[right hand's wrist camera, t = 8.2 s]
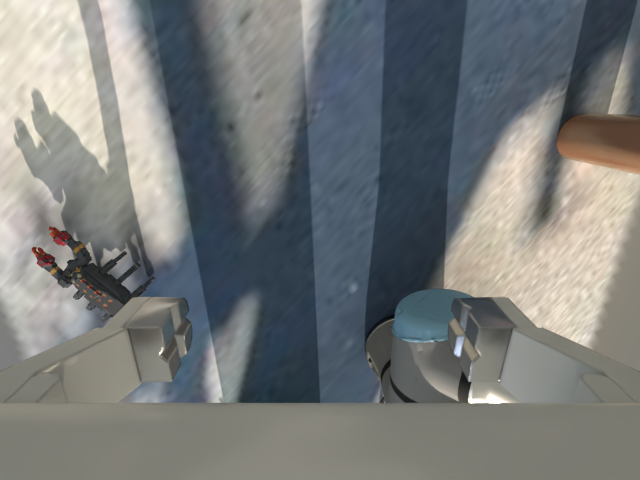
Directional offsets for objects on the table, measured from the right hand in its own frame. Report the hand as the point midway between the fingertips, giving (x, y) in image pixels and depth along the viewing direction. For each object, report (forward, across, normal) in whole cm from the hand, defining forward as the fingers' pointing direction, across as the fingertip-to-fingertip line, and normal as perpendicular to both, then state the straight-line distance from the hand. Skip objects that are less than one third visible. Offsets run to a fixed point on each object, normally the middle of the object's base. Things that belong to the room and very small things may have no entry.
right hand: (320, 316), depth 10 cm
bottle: (+48, -42, -1) cm, 64 cm away
